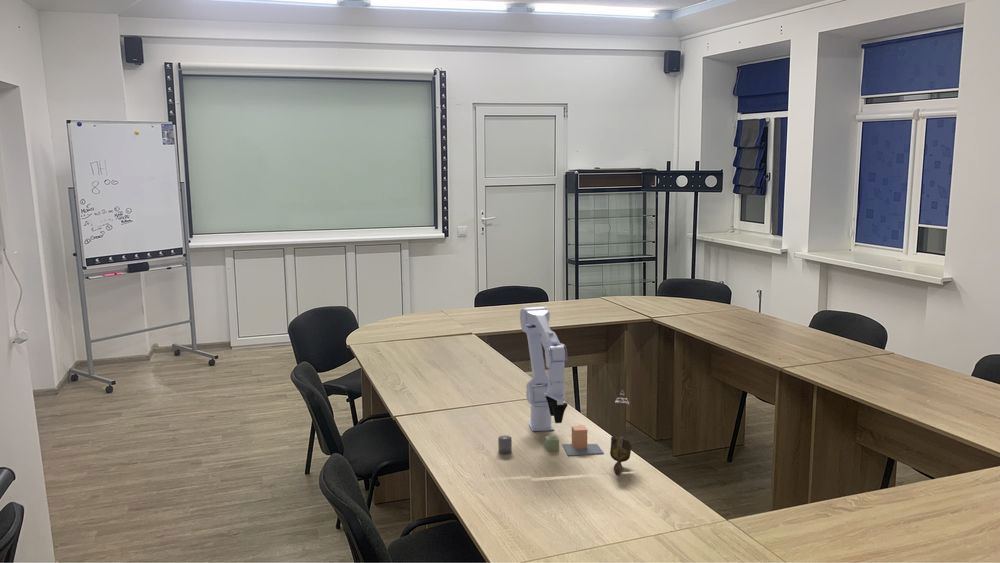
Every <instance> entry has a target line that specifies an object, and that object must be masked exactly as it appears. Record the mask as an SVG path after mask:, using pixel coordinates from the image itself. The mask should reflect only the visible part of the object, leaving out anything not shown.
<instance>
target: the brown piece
mask: <svg viewBox="0 0 1000 563" xmlns="http://www.w3.org/2000/svg"><path fill="white" fill-rule="evenodd" d="M610 438H611V439H610V450H609V456H610V458H612V460H614V461H616V462H615V464H614V465H613V471H614V474H615V476H617V477H618V476H621V474H622V473H623V471H624V468H623V465H622V463H623V462H627V461H628V460H629V459H630V458H631V453H632V442H631V441H630V440H628V439H627V438H625V437H624V436H620V437H617V436H611V437H610Z"/></svg>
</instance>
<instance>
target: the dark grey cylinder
mask: <svg viewBox="0 0 1000 563" xmlns="http://www.w3.org/2000/svg"><path fill="white" fill-rule="evenodd" d="M497 441H498V454H501V455H510V454H511V453H512V452H513V450H512V449H513V448H512V447H513V446H512V443H513V442H512V436H511V435H505V434H504V435H500V436H498V440H497Z"/></svg>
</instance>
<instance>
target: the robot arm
mask: <svg viewBox="0 0 1000 563" xmlns="http://www.w3.org/2000/svg"><path fill="white" fill-rule="evenodd" d="M519 312H520V313H519V320H520V327H521V331H522V332H523V333H525V334H526V336H527V337H526V338H527V342H528V344H527V346H528V352H529V358H530V367H531V373H532V374H531V376H532V378H531V379H529V380H528V381H527V382H526V384H525V385H526V386H525V388H526V391H525V393H526V395H525V396H526V400H527V402H528V403H529V405H530V420H529V421H527V423H529V424H528V425H529V427H530V429H531V431H532V432H541V431H542V432H543V431H555V428H554V425H553V424H552V417H553V419H554V423H555V424H562V423H563V419H564V414H565V411H566V409H567V407H568V405H569V404H568V403H567V402H564V399H565V397H566V392H565V369H566V368H565V365H566V364H565V362H567V360H568V350H567V347H566V344H564V343H563V342H562V343H561V341H560V340H559V338H558V336H557V334H556V332H555V331H553V330H551V327H550V323H549V322H550V316H551V314H550V310H549V308H548V307H547V306H546V305H544V306H531V307H522V308H521V309H520V310H519ZM543 349H544V353H543ZM544 357H545V360H544ZM545 363H546V364H545ZM546 368H547V374H546Z"/></svg>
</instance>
